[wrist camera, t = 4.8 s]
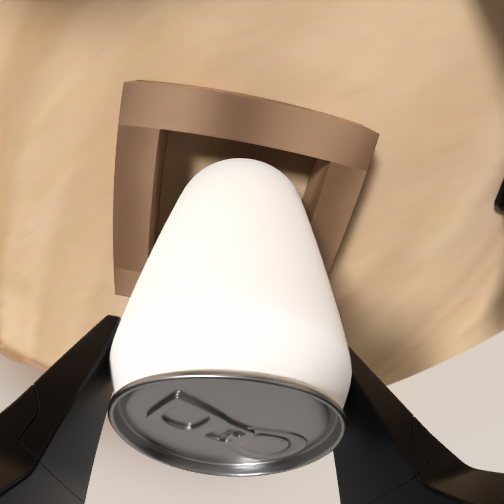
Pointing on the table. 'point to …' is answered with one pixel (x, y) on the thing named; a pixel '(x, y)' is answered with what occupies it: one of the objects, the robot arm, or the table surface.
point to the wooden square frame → (234, 128)
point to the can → (232, 333)
